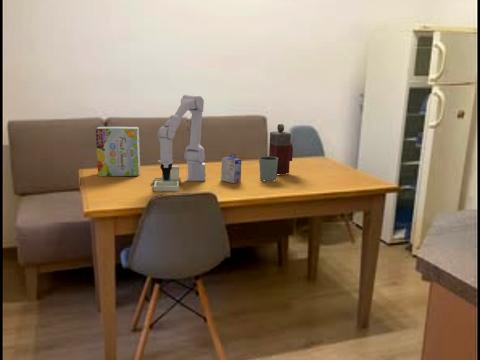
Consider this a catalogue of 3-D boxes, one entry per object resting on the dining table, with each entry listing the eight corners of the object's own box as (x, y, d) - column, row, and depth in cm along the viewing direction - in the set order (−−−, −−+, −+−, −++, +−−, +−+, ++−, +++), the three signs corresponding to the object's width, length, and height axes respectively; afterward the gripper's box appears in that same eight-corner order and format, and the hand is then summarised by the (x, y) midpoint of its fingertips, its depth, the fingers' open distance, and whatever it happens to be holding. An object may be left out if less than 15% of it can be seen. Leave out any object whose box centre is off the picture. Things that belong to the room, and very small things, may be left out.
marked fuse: (170, 182, 245) (170, 167, 243) (170, 184, 242) (170, 168, 240) (162, 182, 245) (162, 166, 243) (162, 184, 242) (162, 168, 240)
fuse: (179, 180, 256) (179, 165, 254) (179, 182, 253) (179, 166, 251) (171, 180, 255) (171, 165, 253) (171, 182, 252) (171, 166, 250)
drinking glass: (275, 182, 262) (276, 160, 259) (256, 181, 264) (257, 159, 261) (278, 178, 271) (279, 156, 268) (259, 177, 273) (260, 155, 270)
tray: (178, 185, 250) (178, 181, 249) (178, 191, 240) (178, 186, 239) (155, 185, 248) (155, 181, 248) (154, 191, 238) (153, 186, 238)
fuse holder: (181, 181, 258) (181, 176, 257) (181, 185, 251) (181, 180, 250) (153, 181, 256) (153, 176, 256) (152, 185, 249) (152, 180, 249)
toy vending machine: (292, 174, 282) (295, 124, 275) (274, 175, 278) (277, 125, 271) (285, 170, 290) (288, 122, 283) (268, 172, 286) (270, 123, 279)
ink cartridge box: (241, 182, 261) (242, 154, 258) (234, 183, 257) (234, 156, 254) (227, 178, 267) (228, 152, 264) (220, 180, 263) (221, 153, 260)
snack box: (140, 173, 275) (139, 126, 268) (138, 176, 266) (137, 128, 260) (100, 172, 273) (98, 125, 267) (97, 176, 264) (95, 128, 258)
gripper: (158, 148, 246) (158, 175, 249) (157, 154, 232) (157, 182, 235) (173, 149, 247) (173, 175, 250) (172, 154, 233) (172, 182, 236)
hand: (166, 179), depth 243 cm, fingers closed on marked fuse, 3 cm apart
